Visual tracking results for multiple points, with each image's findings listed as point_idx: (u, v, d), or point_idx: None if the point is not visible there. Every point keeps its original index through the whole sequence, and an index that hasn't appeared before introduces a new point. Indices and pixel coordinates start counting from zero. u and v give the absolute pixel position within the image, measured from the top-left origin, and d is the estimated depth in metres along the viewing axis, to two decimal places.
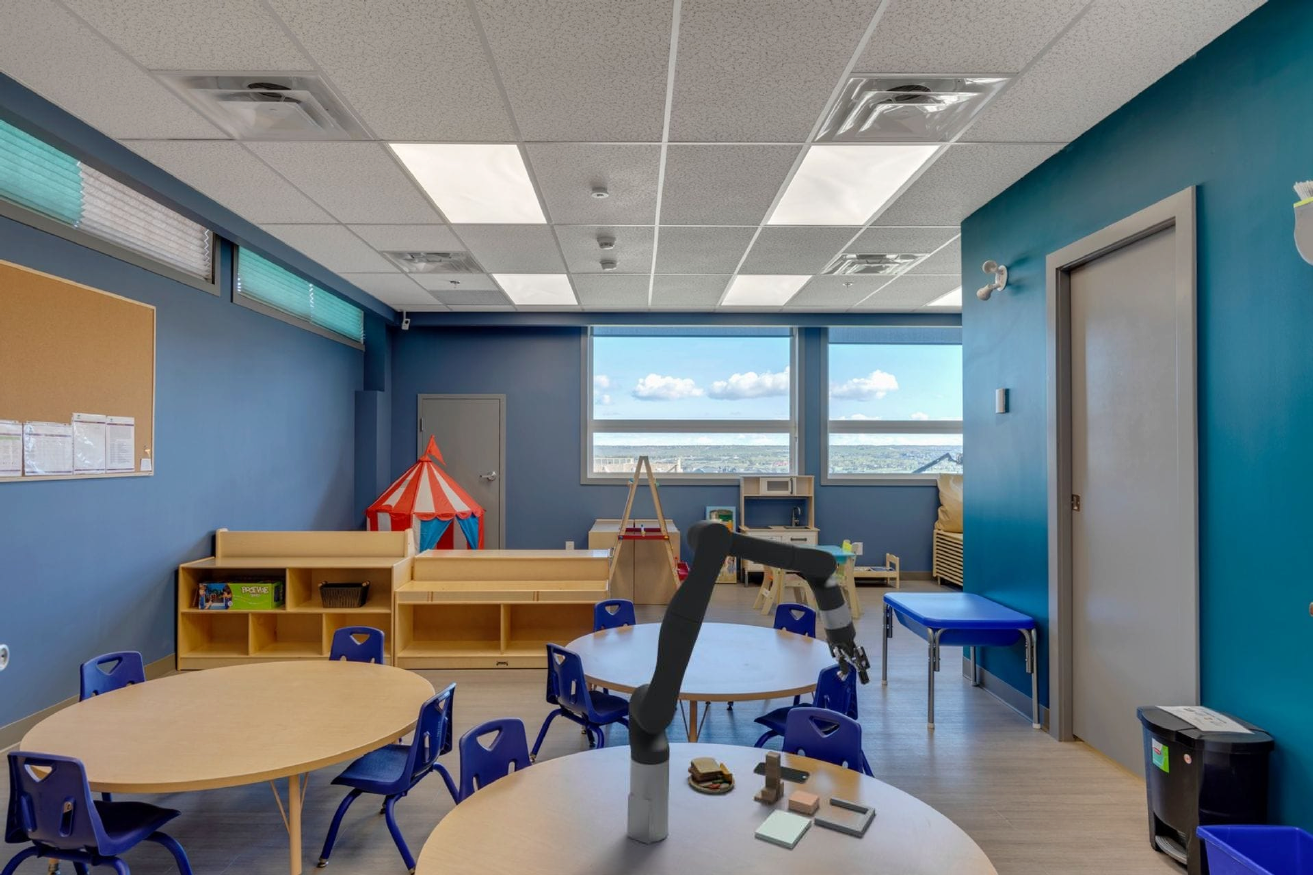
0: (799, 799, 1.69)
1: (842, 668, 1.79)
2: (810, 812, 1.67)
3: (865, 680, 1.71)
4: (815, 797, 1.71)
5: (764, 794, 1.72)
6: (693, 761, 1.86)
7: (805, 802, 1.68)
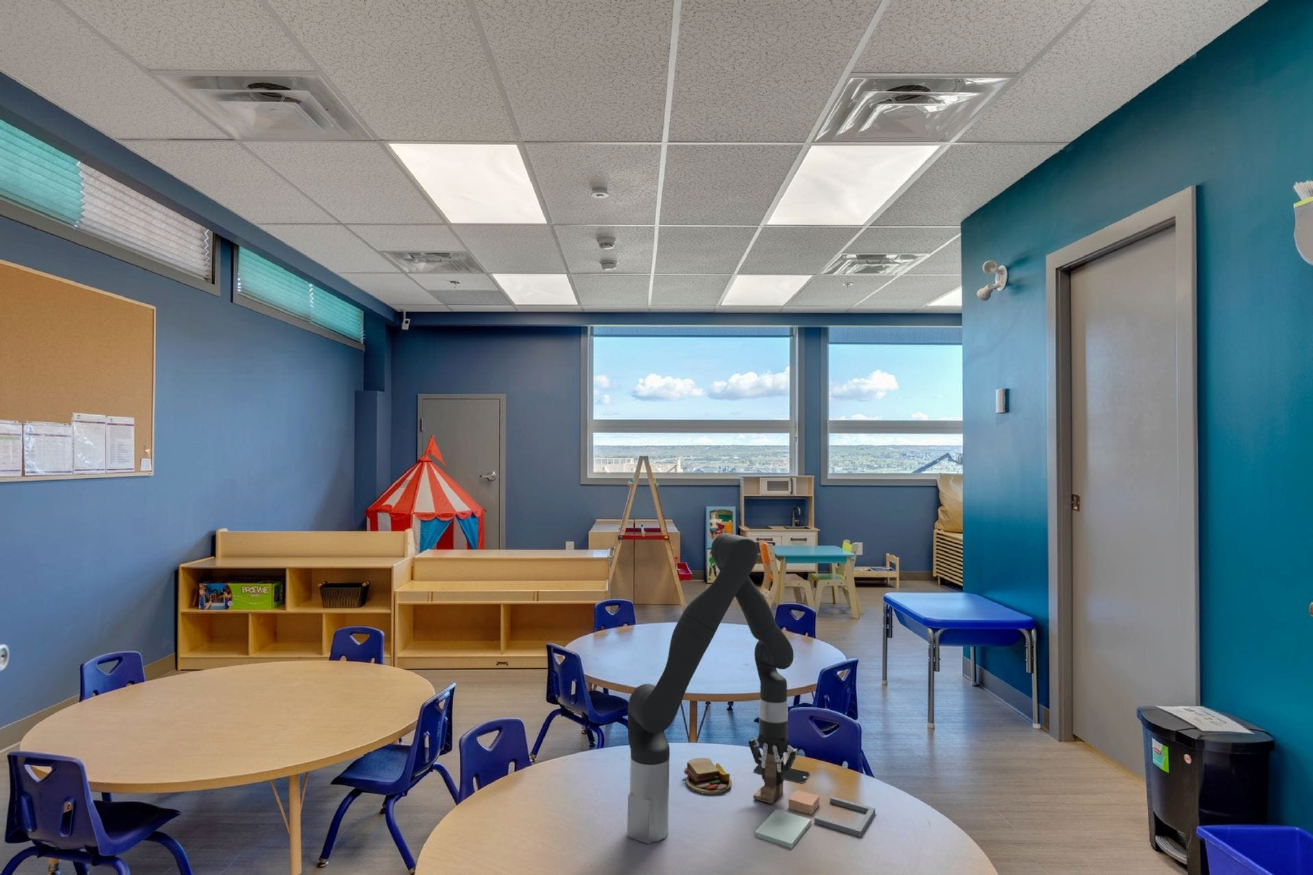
0: (799, 799, 1.69)
1: None
2: (810, 812, 1.67)
3: (781, 781, 1.74)
4: (815, 797, 1.71)
5: (764, 792, 1.72)
6: (689, 762, 1.85)
7: (805, 802, 1.68)
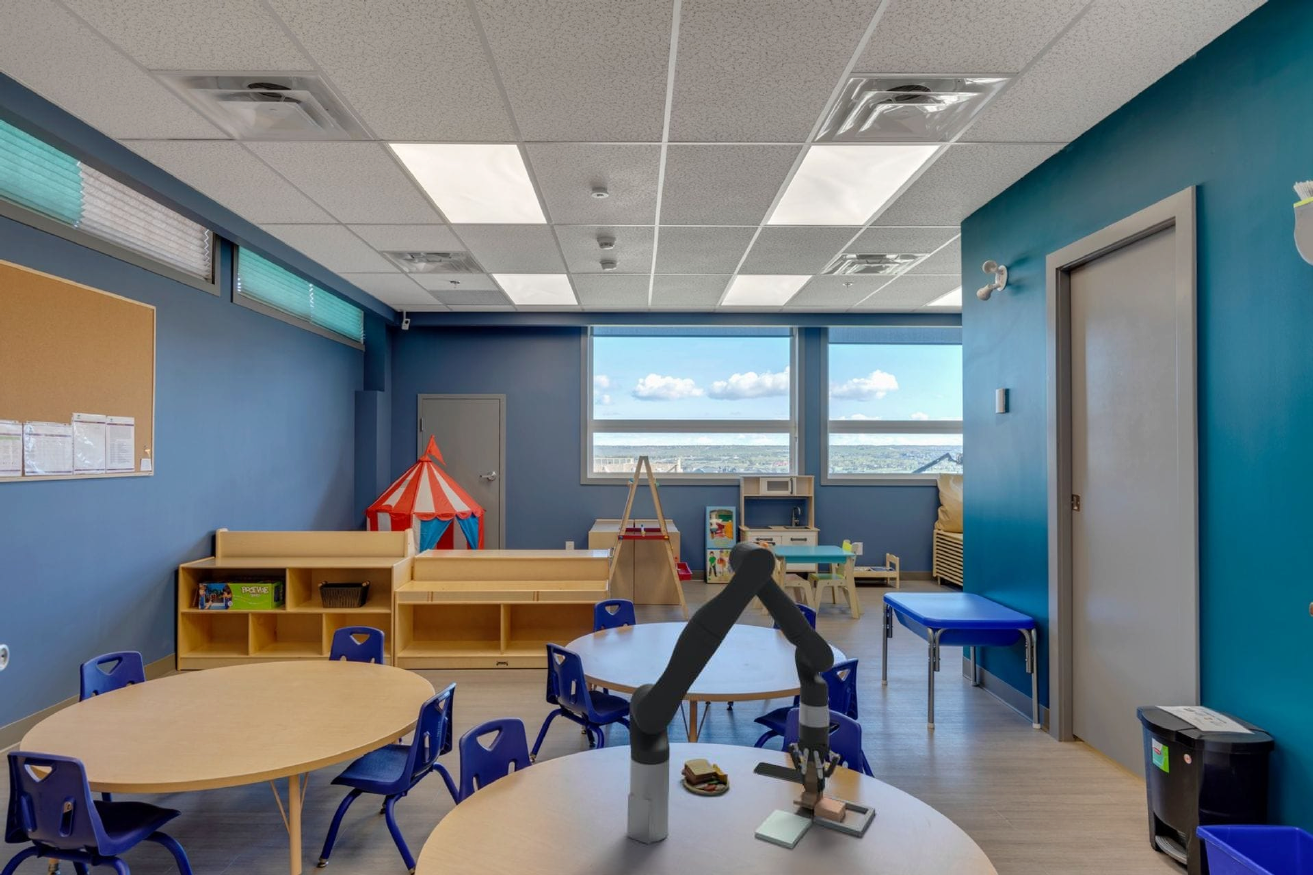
0: (825, 806, 1.66)
1: None
2: (837, 820, 1.63)
3: (823, 788, 1.68)
4: (841, 804, 1.67)
5: (804, 798, 1.66)
6: (687, 763, 1.84)
7: (832, 809, 1.64)
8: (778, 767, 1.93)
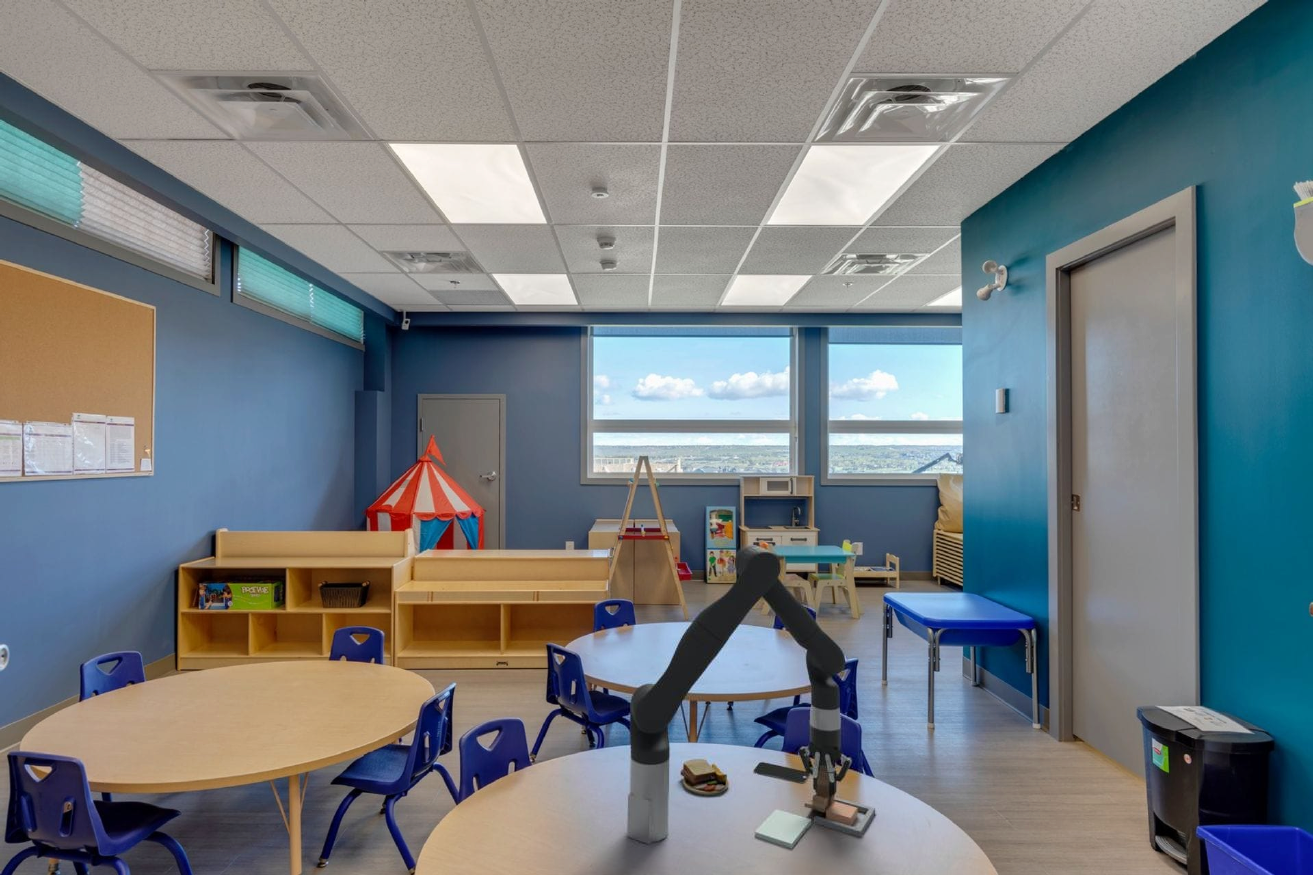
0: (837, 811, 1.64)
1: None
2: (849, 825, 1.61)
3: (834, 792, 1.66)
4: (853, 809, 1.65)
5: (816, 800, 1.64)
6: (685, 763, 1.84)
7: (844, 814, 1.62)
8: (778, 767, 1.93)
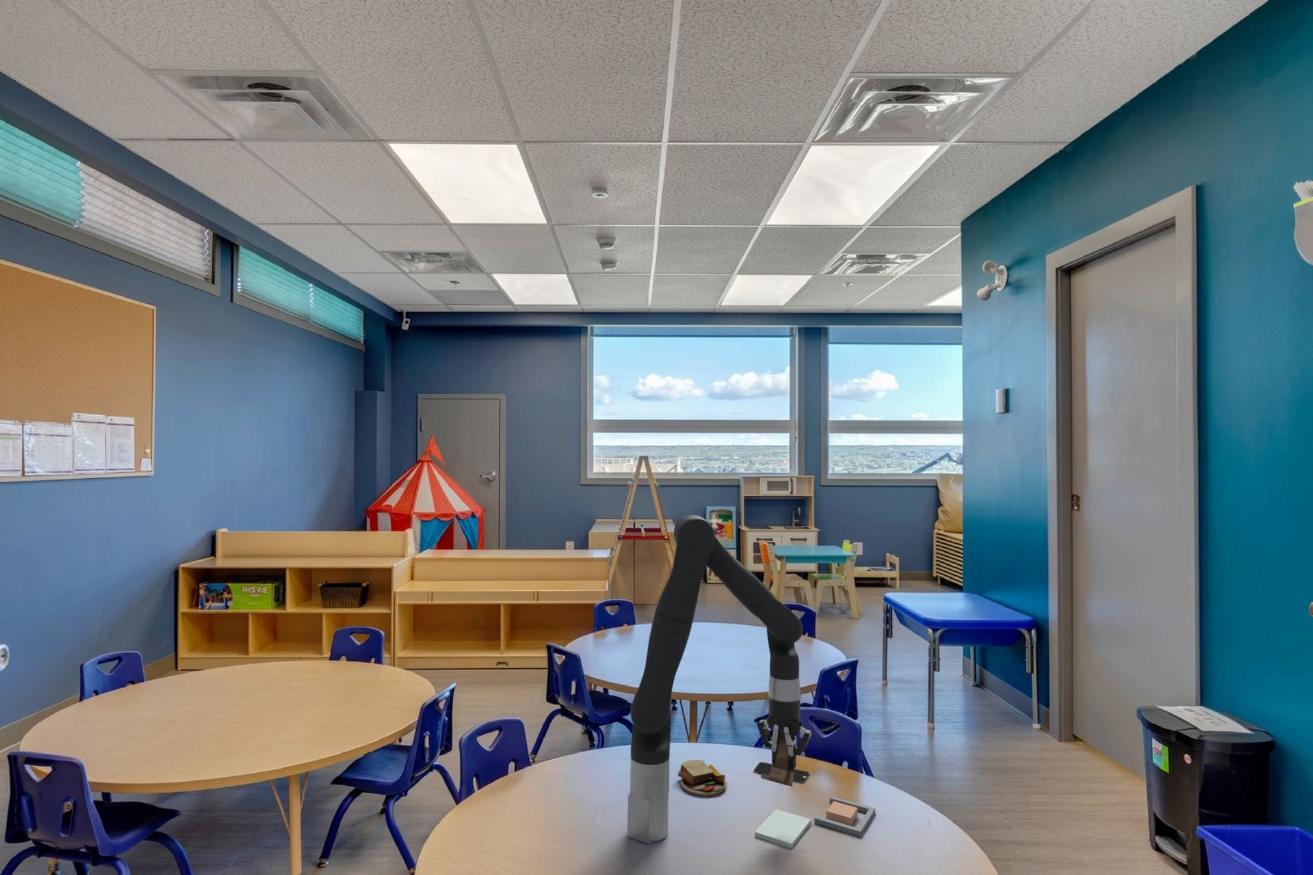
0: (837, 811, 1.64)
1: None
2: (849, 825, 1.61)
3: (794, 766, 1.58)
4: (853, 809, 1.65)
5: (773, 771, 1.56)
6: (683, 764, 1.84)
7: (844, 814, 1.62)
8: None
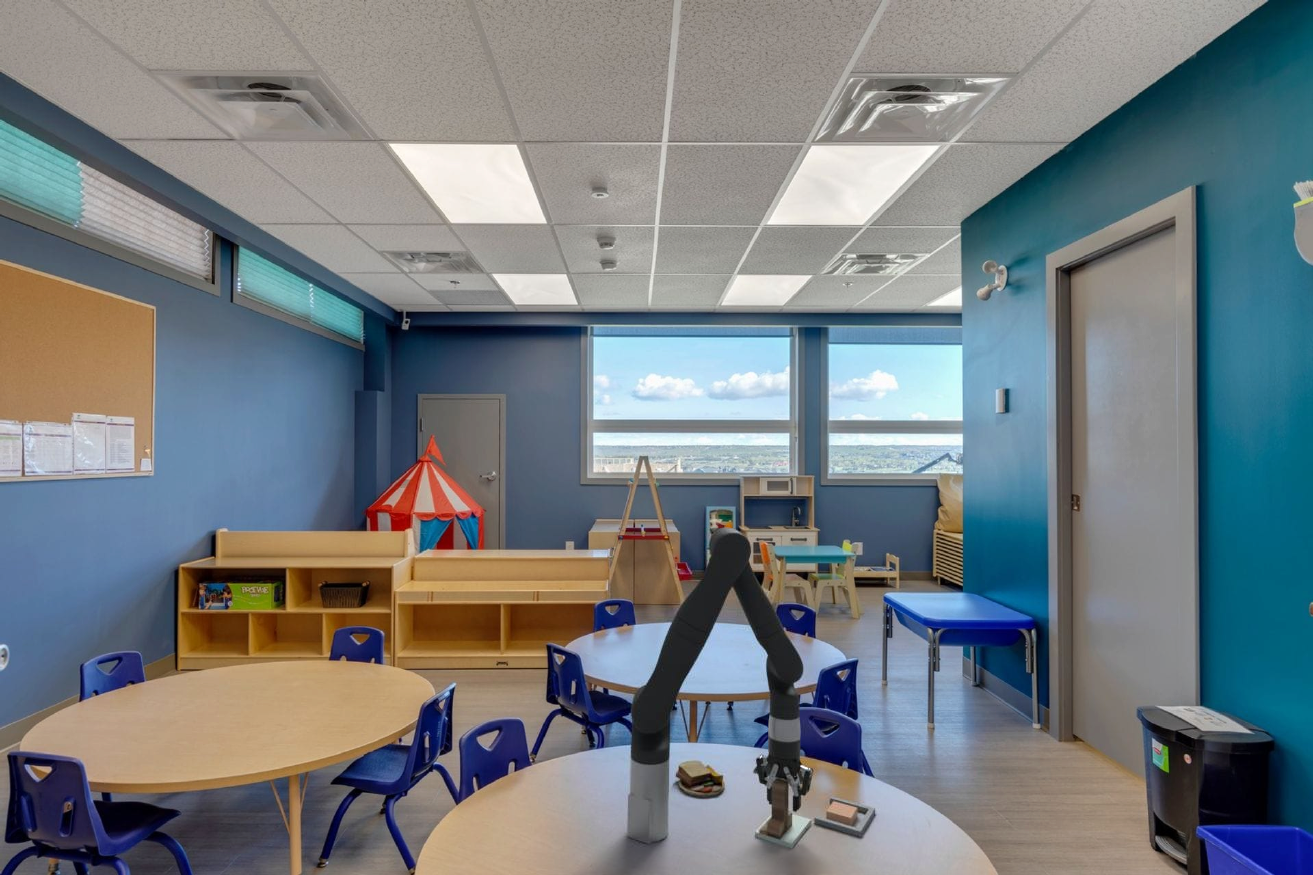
0: (837, 811, 1.64)
1: (771, 796, 1.60)
2: (849, 825, 1.61)
3: (799, 806, 1.57)
4: (853, 809, 1.65)
5: (771, 827, 1.54)
6: (681, 765, 1.83)
7: (844, 814, 1.62)
8: None
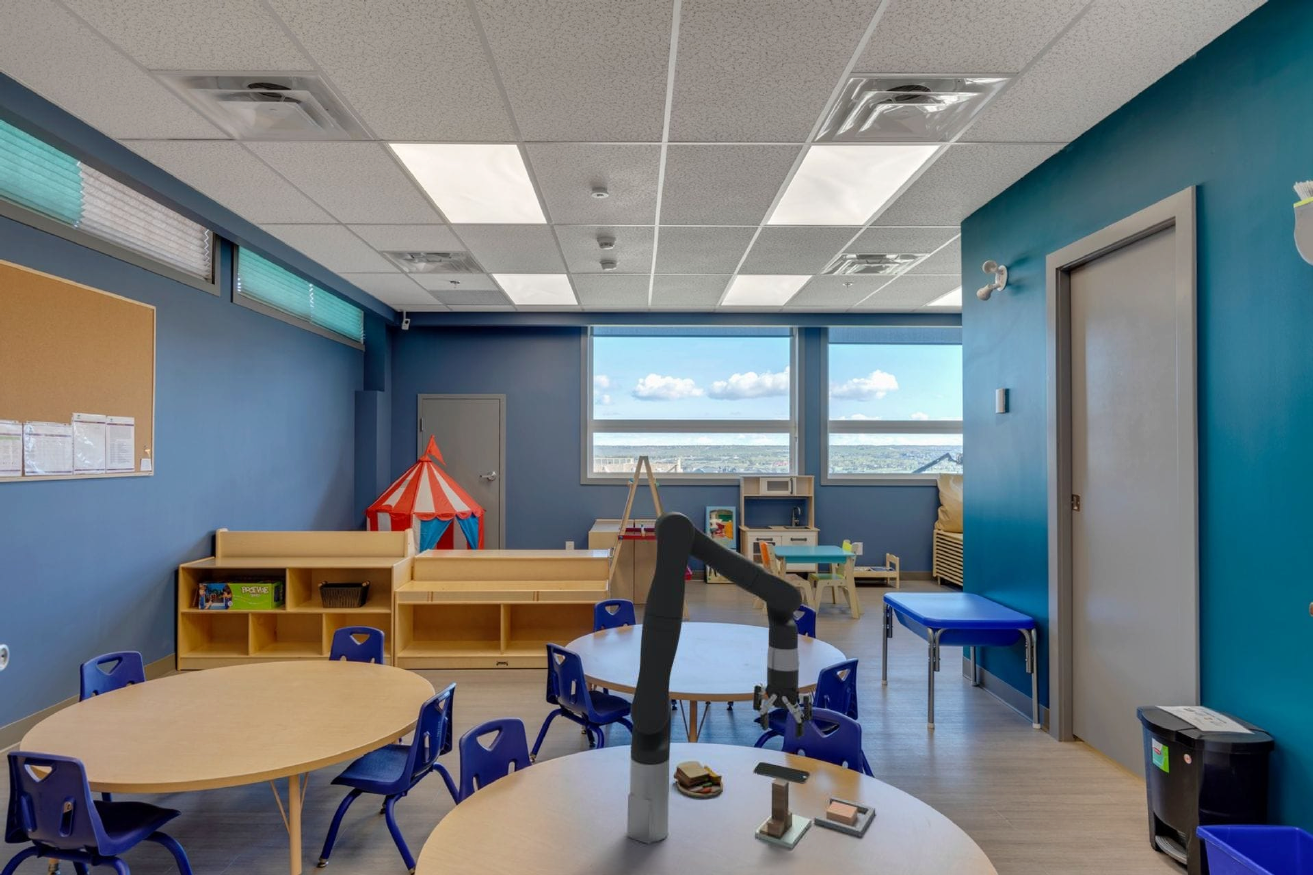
0: (837, 811, 1.64)
1: (765, 722, 1.62)
2: (850, 825, 1.61)
3: (802, 733, 1.57)
4: (853, 809, 1.65)
5: (771, 827, 1.54)
6: (679, 766, 1.82)
7: (844, 814, 1.62)
8: (778, 767, 1.93)
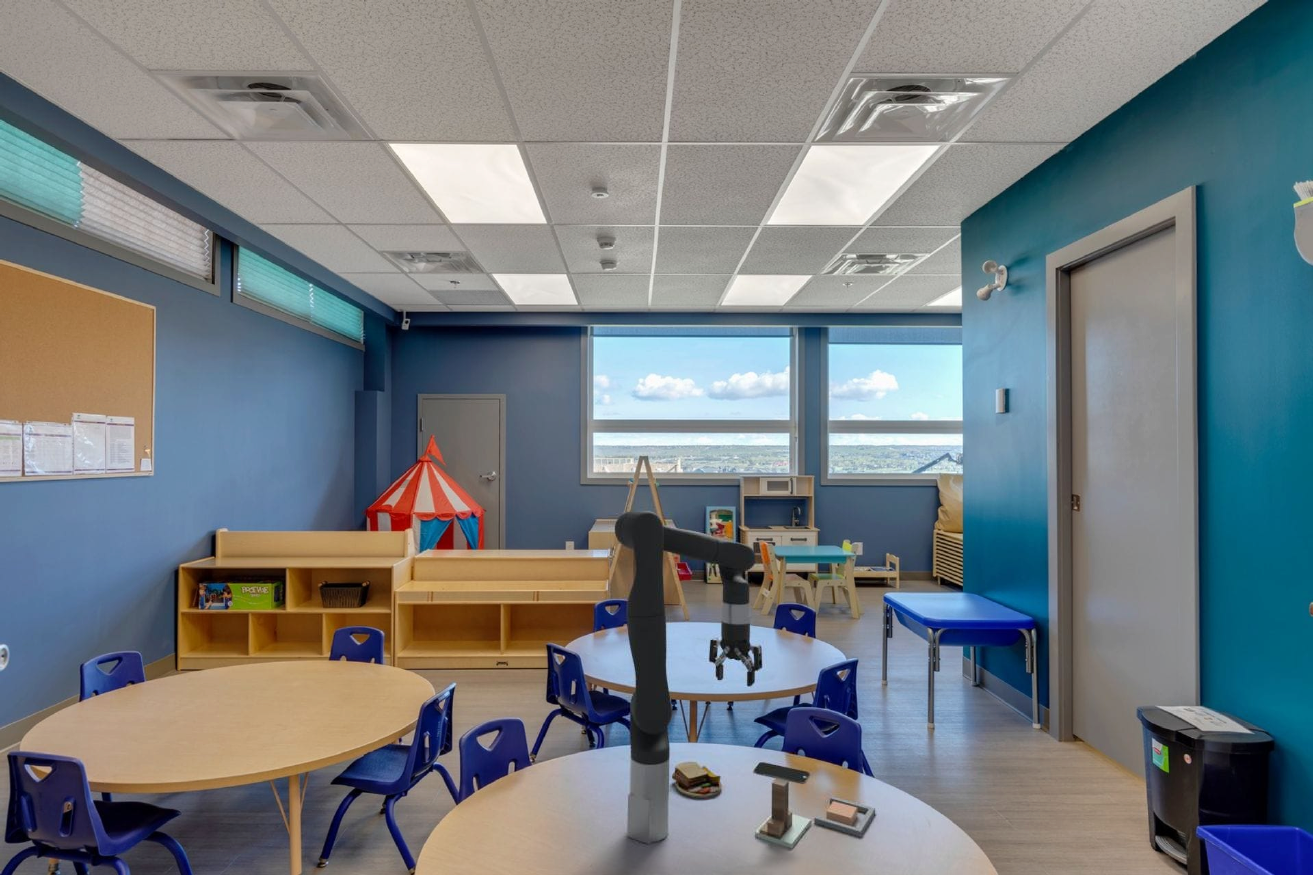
0: (837, 811, 1.64)
1: (720, 672, 1.76)
2: (850, 825, 1.61)
3: (752, 681, 1.71)
4: (853, 809, 1.65)
5: (771, 827, 1.54)
6: (677, 767, 1.82)
7: (844, 814, 1.62)
8: (778, 767, 1.93)
